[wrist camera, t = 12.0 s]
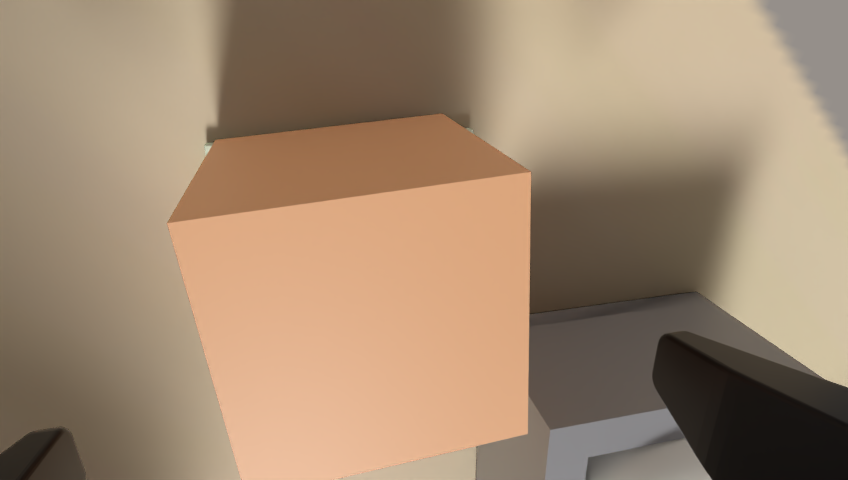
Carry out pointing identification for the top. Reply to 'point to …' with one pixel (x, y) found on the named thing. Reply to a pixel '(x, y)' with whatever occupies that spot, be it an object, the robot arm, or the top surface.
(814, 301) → the top surface
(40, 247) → the top surface
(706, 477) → the white rounded piece
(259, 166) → the cube
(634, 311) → the well
